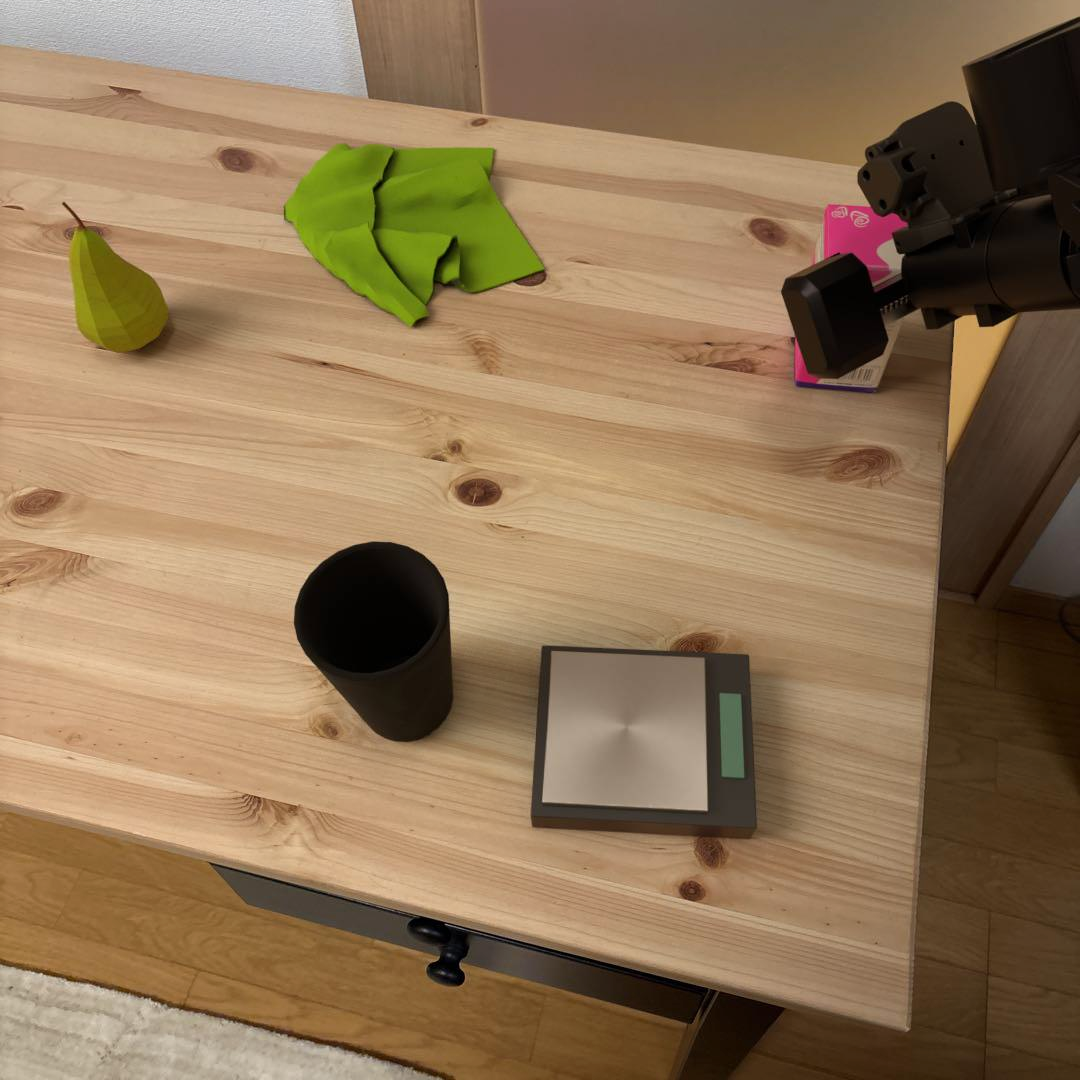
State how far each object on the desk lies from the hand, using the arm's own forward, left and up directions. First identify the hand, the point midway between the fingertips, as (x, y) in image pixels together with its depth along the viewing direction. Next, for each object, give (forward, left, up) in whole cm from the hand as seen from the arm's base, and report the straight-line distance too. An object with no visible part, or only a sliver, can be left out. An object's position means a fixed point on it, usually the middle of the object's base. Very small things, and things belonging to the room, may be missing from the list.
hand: (843, 278), depth 67 cm
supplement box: (-1, +1, -7) cm, 7 cm away
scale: (+3, +33, -7) cm, 34 cm away
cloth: (+33, -1, -7) cm, 34 cm away
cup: (+17, +35, -7) cm, 39 cm away
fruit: (+48, +16, -7) cm, 51 cm away
